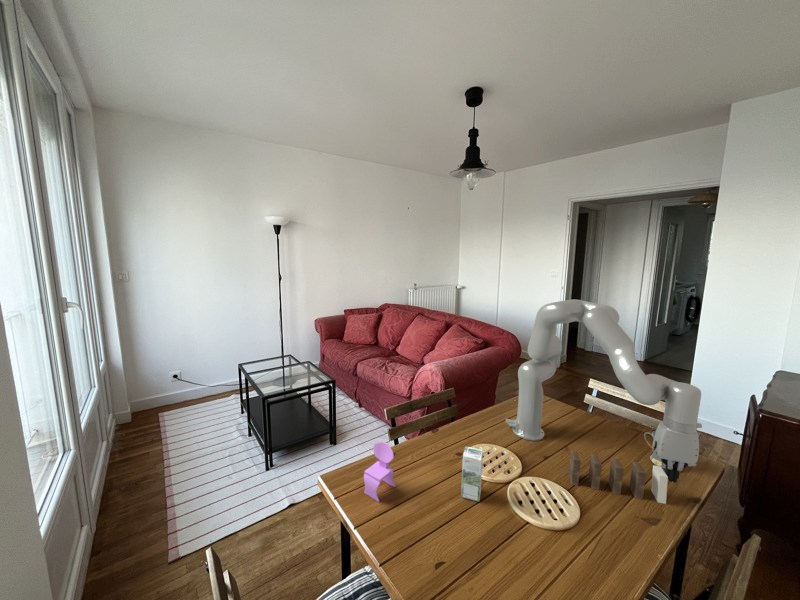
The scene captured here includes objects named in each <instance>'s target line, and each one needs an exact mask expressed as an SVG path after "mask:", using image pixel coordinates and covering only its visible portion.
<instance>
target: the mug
mask: <svg viewBox="0 0 800 600" xmlns="http://www.w3.org/2000/svg"><path fill="white" fill-rule="evenodd" d="M655 432H656V430H653V431H652V432H645V433H644V434H643V438H644V440H645V441H646V443H647V445H648V446H649V447H650V448H651V452H653V453H654V450H653V449H652V444H651V443H650V442H649V440H648V438H647V436H646V435H648V434H649V435H650V436H651V437H652V438H653V439H654V436H655ZM653 439H652V440H653ZM655 444H656V443H655ZM653 453H652V454H651V455H650V456H649V460H650V461H651V463H653V464H654V465H655V466H661V468H662V469H663V470H665V466H666V465H665V464H664V463H663V462H661V461H658V460H656V459H654V458H653V456H652V455H653ZM673 462H674V461H672V463H673Z"/></svg>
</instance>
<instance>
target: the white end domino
mask: <svg viewBox="0 0 800 600" xmlns="http://www.w3.org/2000/svg"><path fill="white" fill-rule="evenodd" d="M668 481H669V480H668V476H667V475H666V474H665V470H664V468H661V466H657V465H655V464H654V465H652V477H651V491H650V492H652V495H653V496H654V498H655V500H656V502H657V503H659V504H664V505H667V493H668Z"/></svg>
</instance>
